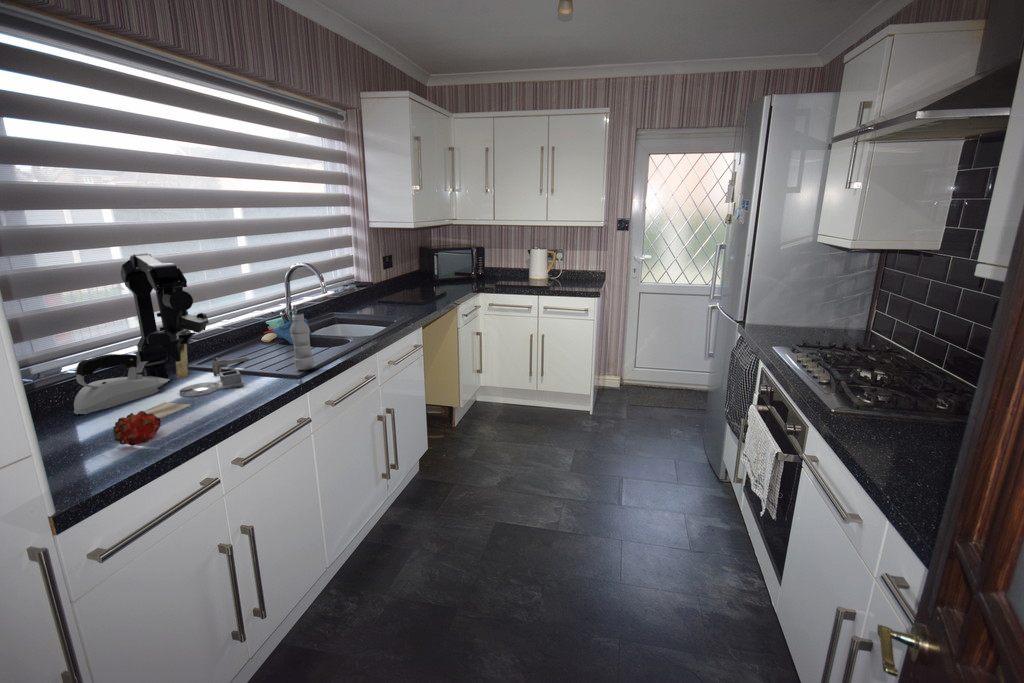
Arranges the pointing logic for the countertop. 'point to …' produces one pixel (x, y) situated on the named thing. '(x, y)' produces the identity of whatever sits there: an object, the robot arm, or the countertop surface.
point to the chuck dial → (214, 384)
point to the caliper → (224, 363)
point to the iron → (113, 383)
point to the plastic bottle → (301, 343)
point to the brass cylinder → (182, 362)
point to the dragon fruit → (136, 428)
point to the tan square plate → (165, 409)
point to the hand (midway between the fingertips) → (181, 359)
